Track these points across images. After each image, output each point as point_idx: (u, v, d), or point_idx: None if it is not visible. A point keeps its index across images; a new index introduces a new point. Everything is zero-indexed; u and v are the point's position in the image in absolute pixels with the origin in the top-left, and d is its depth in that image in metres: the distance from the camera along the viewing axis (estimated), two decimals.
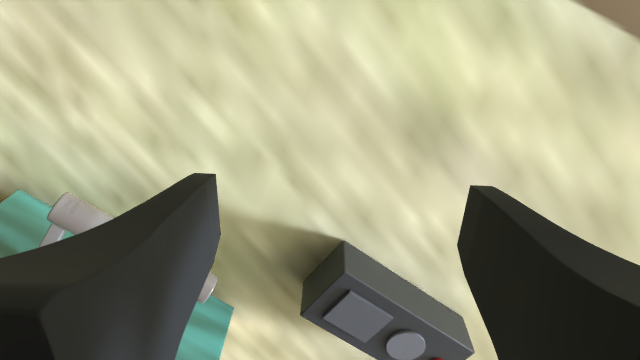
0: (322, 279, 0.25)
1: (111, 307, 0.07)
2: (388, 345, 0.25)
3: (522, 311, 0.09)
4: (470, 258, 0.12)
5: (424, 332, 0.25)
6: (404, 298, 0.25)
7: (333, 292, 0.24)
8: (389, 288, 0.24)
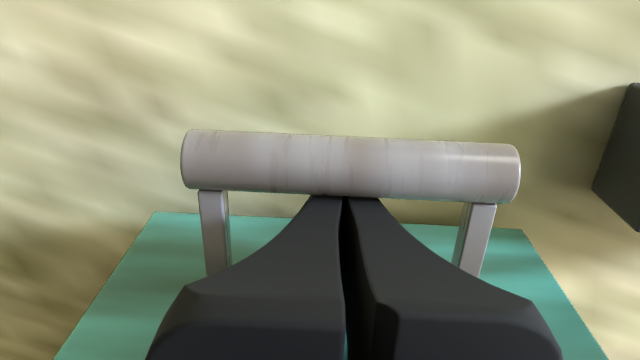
0: (638, 157, 0.14)
1: None
2: None
3: (353, 303, 0.09)
4: (340, 252, 0.12)
5: None
6: None
7: None
8: None
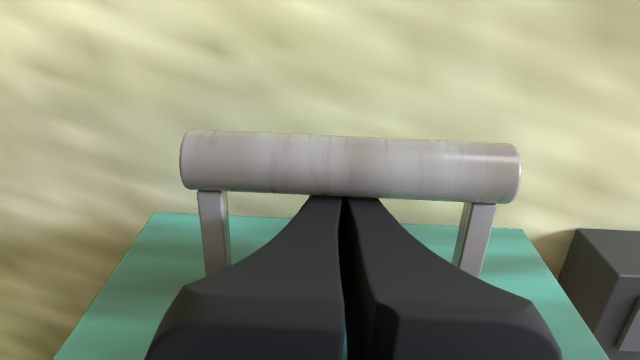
0: (582, 296, 0.16)
1: None
2: None
3: (352, 303, 0.09)
4: (340, 252, 0.12)
5: None
6: None
7: (614, 310, 0.15)
8: None
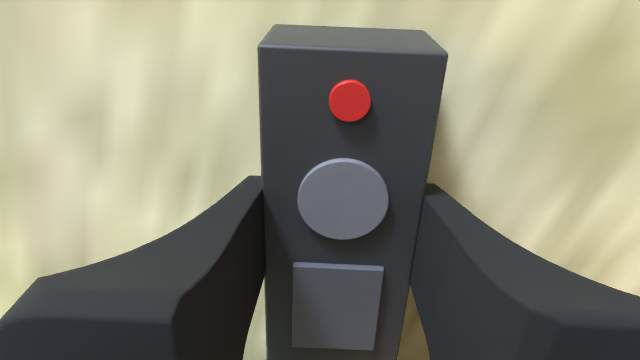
0: None
1: (209, 312, 0.07)
2: (364, 228, 0.11)
3: (445, 308, 0.09)
4: None
5: (287, 189, 0.11)
6: None
7: (315, 356, 0.13)
8: None
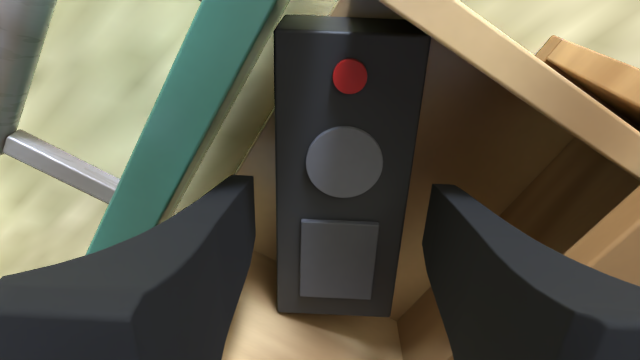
0: None
1: (179, 311, 0.07)
2: (362, 188, 0.13)
3: (471, 309, 0.09)
4: (431, 257, 0.12)
5: (296, 153, 0.13)
6: None
7: (320, 306, 0.15)
8: None
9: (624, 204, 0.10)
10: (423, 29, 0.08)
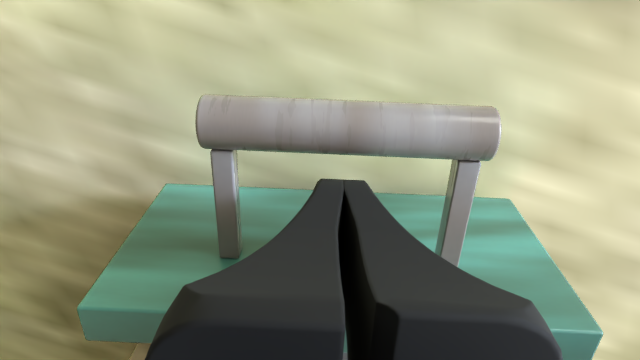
0: None
1: None
2: None
3: (352, 303, 0.09)
4: (340, 252, 0.12)
5: None
6: None
7: None
8: None
9: None
10: None
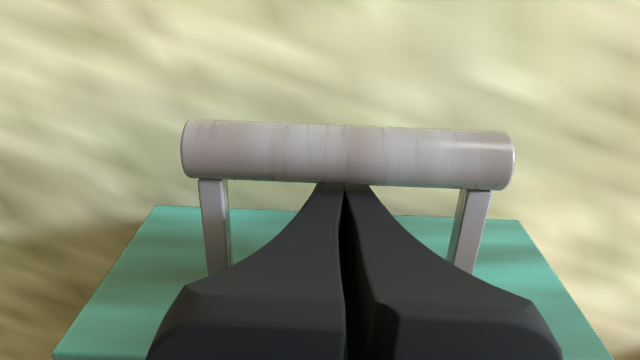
0: None
1: None
2: None
3: (353, 303, 0.09)
4: (340, 252, 0.12)
5: None
6: None
7: None
8: None
9: None
10: None
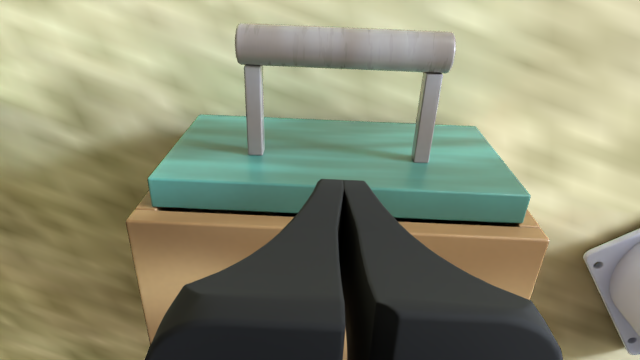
0: None
1: None
2: None
3: (352, 303, 0.09)
4: (340, 252, 0.12)
5: None
6: None
7: None
8: None
9: (469, 226, 0.16)
10: None
